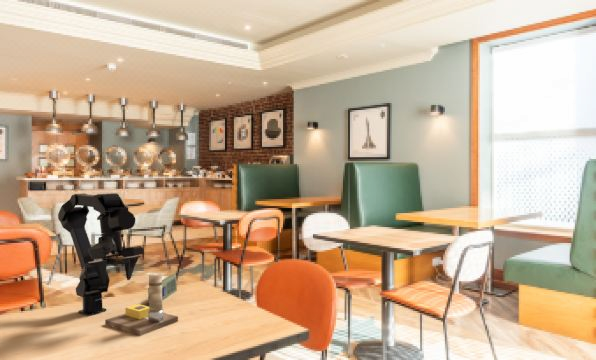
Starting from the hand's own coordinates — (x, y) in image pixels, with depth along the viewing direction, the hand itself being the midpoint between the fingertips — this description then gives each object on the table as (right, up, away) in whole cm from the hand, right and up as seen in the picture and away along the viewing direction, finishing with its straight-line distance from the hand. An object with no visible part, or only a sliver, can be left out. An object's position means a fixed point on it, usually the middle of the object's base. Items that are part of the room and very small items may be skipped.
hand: (116, 281), depth 136 cm
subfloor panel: (+9, -13, -1) cm, 15 cm away
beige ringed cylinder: (+14, -11, -3) cm, 18 cm away
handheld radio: (+7, -13, +23) cm, 27 cm away
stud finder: (+7, -11, +1) cm, 13 cm away
